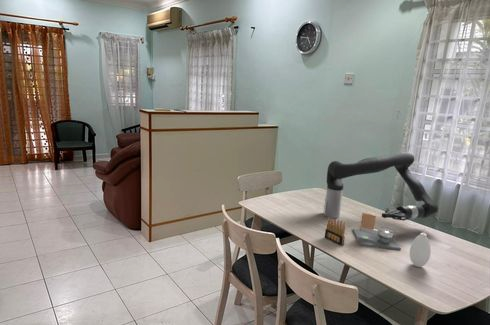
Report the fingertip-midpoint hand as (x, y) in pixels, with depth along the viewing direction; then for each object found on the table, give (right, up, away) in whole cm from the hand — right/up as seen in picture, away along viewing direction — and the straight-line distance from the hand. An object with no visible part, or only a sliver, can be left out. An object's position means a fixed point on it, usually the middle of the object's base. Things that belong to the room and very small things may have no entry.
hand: (382, 215), depth 169 cm
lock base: (-5, -12, -1) cm, 13 cm away
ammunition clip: (-27, -12, -6) cm, 30 cm away
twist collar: (-5, -9, -5) cm, 11 cm away
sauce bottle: (+5, -18, -25) cm, 31 cm away
